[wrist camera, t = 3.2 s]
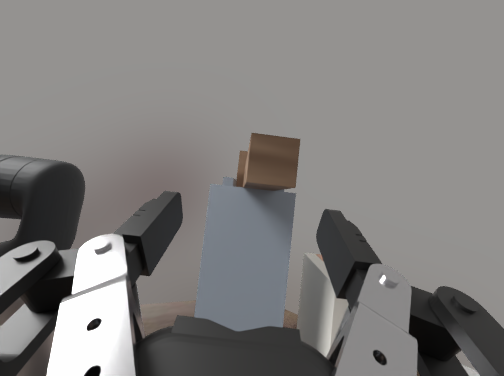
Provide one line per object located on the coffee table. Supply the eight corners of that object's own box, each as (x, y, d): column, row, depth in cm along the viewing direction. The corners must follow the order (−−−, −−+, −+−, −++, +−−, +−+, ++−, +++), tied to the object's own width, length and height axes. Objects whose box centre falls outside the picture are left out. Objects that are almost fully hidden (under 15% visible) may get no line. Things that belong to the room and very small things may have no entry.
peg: (309, 189, 13) (316, 113, 14) (231, 180, 13) (240, 103, 13) (267, 193, 33) (271, 162, 33) (236, 189, 32) (239, 158, 33)
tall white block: (401, 505, 20) (415, 294, 21) (317, 494, 20) (335, 285, 21) (342, 384, 33) (353, 257, 34) (292, 378, 33) (304, 252, 34)
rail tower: (266, 488, 20) (296, 184, 22) (174, 476, 20) (211, 175, 22) (261, 374, 33) (280, 189, 35) (205, 368, 33) (226, 183, 35)
